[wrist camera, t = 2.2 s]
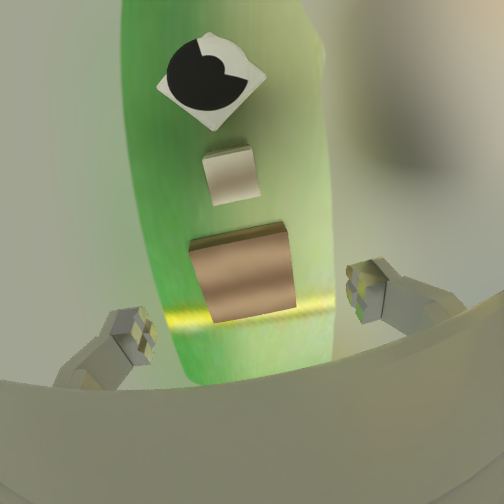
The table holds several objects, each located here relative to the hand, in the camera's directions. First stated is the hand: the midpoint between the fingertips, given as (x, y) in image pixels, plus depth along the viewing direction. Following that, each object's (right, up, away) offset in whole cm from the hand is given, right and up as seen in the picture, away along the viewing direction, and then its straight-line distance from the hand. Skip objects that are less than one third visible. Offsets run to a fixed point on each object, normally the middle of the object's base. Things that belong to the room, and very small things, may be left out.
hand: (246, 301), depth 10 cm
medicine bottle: (-4, +20, +16) cm, 26 cm away
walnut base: (-1, -1, +27) cm, 27 cm away
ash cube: (-2, +12, +21) cm, 24 cm away
